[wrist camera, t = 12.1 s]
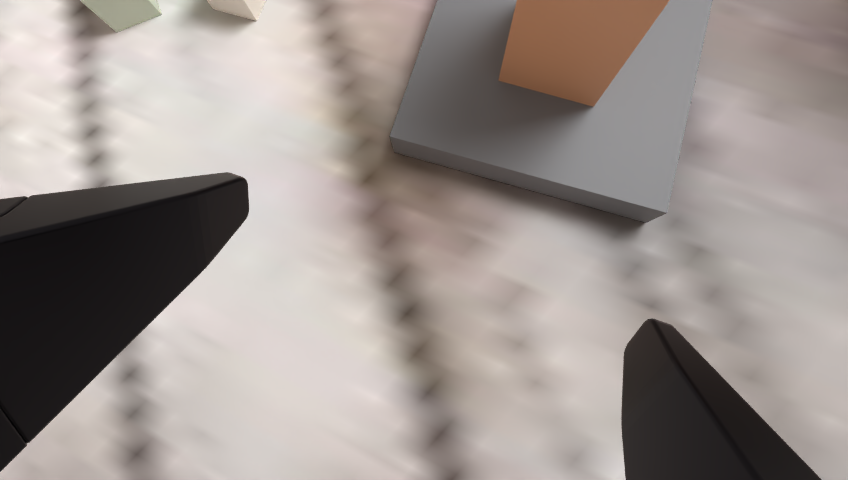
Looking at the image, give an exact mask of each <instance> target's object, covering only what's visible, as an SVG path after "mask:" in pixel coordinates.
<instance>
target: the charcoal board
mask: <svg viewBox="0 0 848 480" xmlns="http://www.w3.org/2000/svg"><path fill="white" fill-rule="evenodd" d="M712 1H713V0H670V1H669V2H668V3H667V5H666V6H665V8H664V9H663V10H662V12H661V13H660V15H659V16H658V17H657V19H656V20H655V22H654V23H653V24H652V26H651V27H650V29H649V30H648V31H647V33H646V34H645V36H644V37H643V38H642V40H641V41H640V43H639V44H638V45H637V47H636V48H635V50H634V51H633V52H632V54H631V55H630V57H629V58H628V59H627V61H626V62H625V64H624V65H623V66H622V68H621V69H620V71H619V72H618V73H617V75H616V76H615V78H614V79H613V80H612V82H611V83H610V85H609V86H608V87H607V89H606V90H605V92H604V93H603V94H602V96H601V97H600V99H599V100H598V101H597V103H596V104H595V106H594V107H593V106H589V105H585V104H582V103H578V102H574V101H571V100H567V99H563V98H560V97H556V96H553V95H549V94H545V93H542V92H538V91H534V90H531V89H527V88H523V87H520V86H516V85H512V84H509V83H505V82H501V81H498V80H499V75H500V71H501V67H502V62H503V58H504V54H505V49H506V45H507V41H508V36H509V32H510V28H511V23H512V19H513V15H514V10H515V6H516V2H517V0H437V3H436V6H435V9H434V11H433V14H432V17H431V20H430V23H429V26H428V28H427V31H426V34H425V37H424V40H423V43H422V45H421V48H420V51H419V54H418V57H417V60H416V62H415V65H414V68H413V71H412V74H411V77H410V79H409V82H408V85H407V88H406V91H405V94H404V96H403V99H402V102H401V105H400V108H399V111H398V113H397V116H396V119H395V122H394V125H393V128H392V130H391V133H390V136H389V137H390V140H391V143H392V147H393V150H394V152H395V153H399V154H402V155H406V156H409V157H413V158H417V159H420V160H424V161H427V162H431V163H434V164H438V165H442V166H445V167H449V168H452V169H456V170H459V171H463V172H467V173H470V174H474V175H477V176H481V177H484V178H488V179H492V180H495V181H499V182H502V183H506V184H510V185H513V186H517V187H520V188H524V189H527V190H531V191H535V192H538V193H542V194H545V195H549V196H552V197H556V198H560V199H563V200H567V201H570V202H574V203H577V204H581V205H585V206H588V207H592V208H595V209H599V210H603V211H606V212H610V213H613V214H617V215H620V216H624V217H628V218H631V219H635V220H638V221H642V222H645V223H646V222H649V221H651V220H653V219H655V218H657V217H659V216H662V215H664V214H666V213H667V211H668V207H669V202H670V197H671V193H672V188H673V183H674V179H675V174H676V169H677V165H678V160H679V155H680V151H681V146H682V141H683V137H684V132H685V127H686V123H687V118H688V113H689V108H690V104H691V99H692V94H693V90H694V85H695V80H696V76H697V71H698V66H699V62H700V57H701V52H702V48H703V43H704V38H705V34H706V29H707V24H708V20H709V15H710V10H711V6H712Z"/></svg>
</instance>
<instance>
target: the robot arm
mask: <svg viewBox="0 0 848 480" xmlns="http://www.w3.org/2000/svg"><path fill="white" fill-rule="evenodd" d="M248 213H249V198H248V183H247V181H246V179H245V178H243V177H241V176H238V175H235V174H232V173H228V172H226V173H217V174H209V175H200V176H192V177H183V178H175V179H167V180H158V181H150V182H141V183H133V184H124V185H116V186H108V187H99V188H91V189H82V190H74V191H65V192H57V193H49V194H40V195H32V196H30V197H26V196H23V197H14V198H6V199H0V472H1V471H2V470H3V469H4V468H5V467H6V466H7V465H8V464H9V463H10V462H11V461H12V460H13V459H14V458H15V457H16V456H17V455H18V454H19V453H20V452H21V451H22V450H23V449H24V448H25V447H26V446H27V443H29V442H30V441H31V440H32V439H33V438H35V437H36V436H37V435H38V434H39V433H40V432H41V431H42V430H43V429H44V428H45V427H46V426H47V425H48V424H49V423H50V422H51V421H52V420H53V419H54V418H55V417H56V416H57V415H58V414H59V413H60V412H61V411H62V410H63V409H64V408H65V407H66V406H67V405H68V404H69V403H70V402H71V401H72V400H73V399H74V398H75V397H76V396H77V395H78V394H79V393H80V392H81V391H82V390H83V389H84V388H85V387H86V386H87V385H88V384H89V383H90V382H91V381H92V380H93V379H94V378H95V377H96V376H97V375H98V374H99V373H100V372H101V371H102V370H103V369H104V368H105V367H106V366H107V365H108V364H109V363H110V362H111V361H112V360H113V359H114V358H115V357H116V356H117V355H118V354H119V353H120V352H121V351H122V350H123V349H124V348H126V347H127V346H128V345H129V344H130V343H131V342H132V341H133V340H134V339H135V338H136V337H137V336H138V335H139V334H140V333H141V332H142V331H143V330H144V329H145V328H146V327H147V326H148V325H149V324H150V323H151V322H152V321H153V320H154V319H155V318H156V317H157V316H158V315H159V314H160V313H161V312H162V311H163V310H164V309H165V308H166V307H167V306H168V305H169V304H170V303H171V302H172V301H173V300H174V299H175V298H176V297H177V296H178V295H179V294H180V293H181V292H182V291H183V290H184V289H185V288H186V287H187V286H188V285H189V284H190V283H191V282H192V281H193V280H194V279H195V278H196V277H197V276H198V275H199V274H200V273H201V272H202V271H203V270H204V269H205V268H206V267H207V266H208V265H209V264H210V262H211V261H212V260H213V259H214V258H215V257H216V255H217V254H218V253H219V252H220V250H221V249H222V248H223V247H224V245H225V244H226V243H227V242H228V241H229V239H230V238H231V237H232V236H233V234H234V233H235V232H236V231H237V229H238V228H239V227H240V226H241V225H242V223H243V222H244V221H245V219H246V218H247V216H248ZM622 439H623V451H624V464H625V476H626V480H821V479H820V478H819V477H818V475H817V474H816V473H815V472H814V471H813V470H812V469H811V468H810V467H809V466H808V465H807V464H806V463H805V462H804V461H803V460H802V459H801V458H800V457H799V456H798V455H797V454H796V453H795V452H794V451H793V450H792V449H791V448H790V447H789V446H788V445H787V444H786V442H785V441H784V440H783V439H782V438H781V437H780V436H779V435H778V434H777V433H776V432H775V431H774V430H773V429H772V428H771V427H770V426H769V425H768V424H767V423H766V422H765V421H764V420H763V419H762V418H761V417H760V416H759V415H758V414H757V413H756V412H755V410H754V409H753V408H752V407H751V406H750V405H749V404H748V403H747V402H746V401H745V400H744V399H743V398H742V397H741V396H740V395H739V394H738V393H737V392H736V391H735V390H734V389H733V388H732V387H731V386H730V385H729V384H728V383H727V382H726V381H725V379H724V378H723V377H722V376H721V375H720V374H719V373H718V372H717V371H716V370H715V369H714V368H713V367H712V366H711V365H710V364H709V363H708V362H707V361H706V360H705V359H704V358H703V357H702V356H701V355H700V354H699V353H698V352H697V351H696V350H695V349H694V347H693V346H692V345H691V344H690V343H689V342H688V341H687V340H686V339H685V338H684V337H683V336H682V335H681V334H680V333H679V332H678V331H677V330H676V329H675V328H674V327H673V326H672V325H670V324H667V323H664V322H662V321H659V320H656V319H648V320H646V321H645V322H644V323H643V324H642V326H641V327H640V328H639V330H638V331H637V332H636V334H635V335H634V336H633V337H632V339H631V340H630V341H629V343H628V344H627V346H626V348H625V352H624V364H623V389H622Z"/></svg>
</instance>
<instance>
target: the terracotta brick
mask: <svg viewBox="0 0 848 480" xmlns="http://www.w3.org/2000/svg"><path fill="white" fill-rule="evenodd" d="M669 1H670V0H517V2H516V6H515V10H514V15H513V19H512V23H511V28H510V32H509V36H508V41H507V45H506V49H505V54H504V58H503V62H502V67H501V71H500V75H499V80H498V81H501V82H505V83H509V84H512V85H516V86H520V87H523V88H527V89H531V90H534V91H538V92H542V93H545V94H549V95H553V96H556V97H560V98H563V99H567V100H571V101H574V102H578V103H582V104H585V105H589V106H593V107H594V106H595V104H596V103H597V101H598V100H599V99H600V97H601V96H602V94H603V93H604V92H605V90H606V89H607V87H608V86H609V85H610V83H611V82H612V80H613V79H614V78H615V76H616V75H617V73H618V72H619V71H620V69H621V68H622V66H623V65H624V64H625V62H626V61H627V59H628V58H629V57H630V55H631V54H632V52H633V51H634V50H635V48H636V47H637V45H638V44H639V43H640V41H641V40H642V38H643V37H644V36H645V34H646V33H647V31H648V30H649V29H650V27H651V26H652V24H653V23H654V22H655V20H656V19H657V17H658V16H659V15H660V13H661V12H662V10H663V9H664V8H665V6H666V5H667V3H668V2H669Z"/></svg>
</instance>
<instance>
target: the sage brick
mask: <svg viewBox="0 0 848 480" xmlns="http://www.w3.org/2000/svg"><path fill="white" fill-rule="evenodd" d="M80 1H81V2H82V3H83V4H84V5H86V6H87V7H88V8H89V9H90V10H91V11H93V12H94V13H95V14H96V15H97V16H98V17H99V18H101V19H102V20H103V21H104V22H105V23H106V24H107V25H109V26H110V27H111V28H112V29H113V30H114V31H116V32H120V31H122V30H125V29H127V28H130V27H132V26H135V25H137V24H140V23H142V22H145V21H147V20H150V19H152V18H154V17H157V16H159V15H162V13H161V10H160V7H159V4H158V1H157V0H80Z"/></svg>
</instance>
